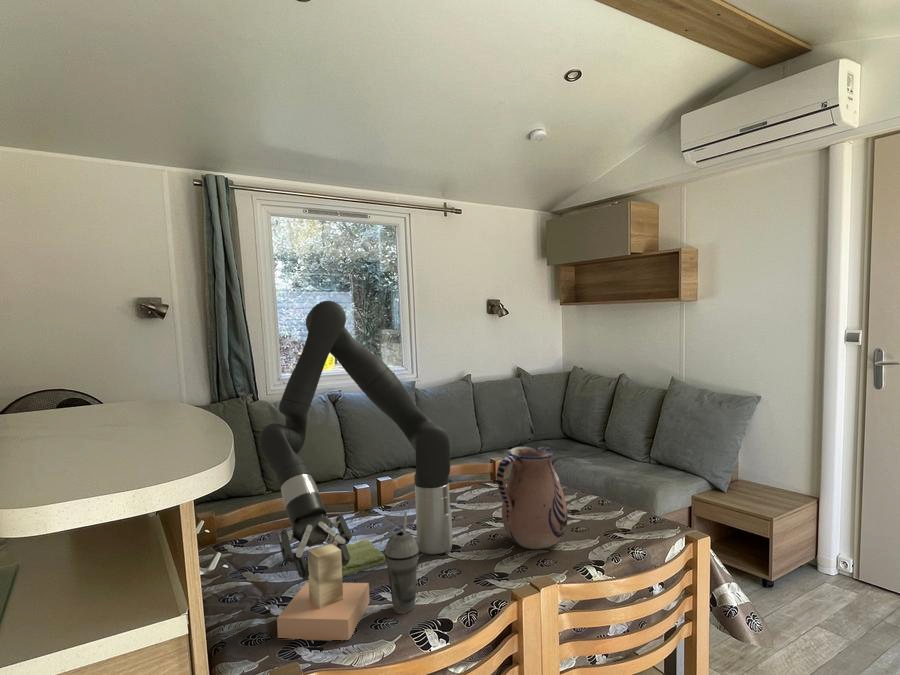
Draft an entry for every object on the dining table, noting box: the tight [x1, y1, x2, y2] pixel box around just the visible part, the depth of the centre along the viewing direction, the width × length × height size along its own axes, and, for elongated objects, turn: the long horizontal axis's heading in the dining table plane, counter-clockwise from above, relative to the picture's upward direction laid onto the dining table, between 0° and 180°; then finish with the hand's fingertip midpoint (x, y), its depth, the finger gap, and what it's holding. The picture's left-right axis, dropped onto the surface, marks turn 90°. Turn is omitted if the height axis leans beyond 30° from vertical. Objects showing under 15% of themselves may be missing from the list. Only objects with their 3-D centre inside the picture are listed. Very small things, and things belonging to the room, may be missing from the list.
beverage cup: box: [383, 510, 420, 613], centre depth 104 cm, size 7×7×20 cm
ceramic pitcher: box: [496, 445, 569, 550], centre depth 133 cm, size 18×21×25 cm
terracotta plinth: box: [276, 581, 370, 642], centre depth 101 cm, size 14×14×4 cm
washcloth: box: [342, 539, 386, 577], centre depth 126 cm, size 13×18×3 cm
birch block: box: [307, 543, 344, 608], centre depth 101 cm, size 5×5×10 cm
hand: (327, 570), depth 100 cm, fingers open, 8 cm apart
